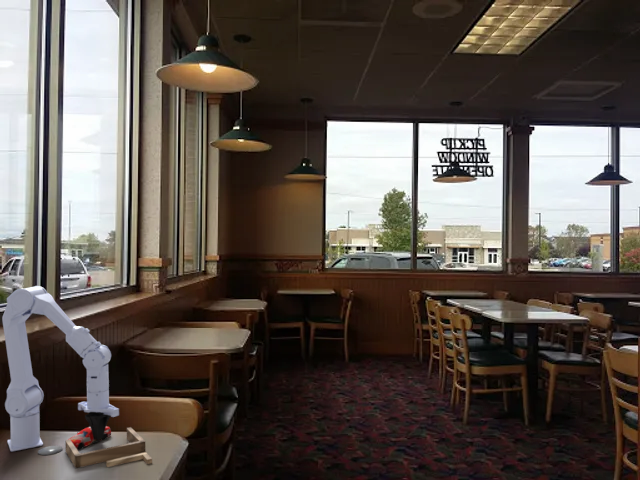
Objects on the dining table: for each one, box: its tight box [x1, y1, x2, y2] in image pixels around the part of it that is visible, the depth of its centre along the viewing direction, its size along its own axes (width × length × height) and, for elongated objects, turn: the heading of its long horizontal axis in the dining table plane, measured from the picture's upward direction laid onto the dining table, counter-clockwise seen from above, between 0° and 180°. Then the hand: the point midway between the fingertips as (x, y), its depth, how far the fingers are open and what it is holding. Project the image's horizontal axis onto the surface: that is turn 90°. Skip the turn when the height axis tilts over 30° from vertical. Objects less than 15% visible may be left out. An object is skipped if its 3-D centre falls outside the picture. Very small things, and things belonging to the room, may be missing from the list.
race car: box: [67, 425, 112, 450], centre depth 158 cm, size 13×5×4 cm, turn 148°
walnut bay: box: [64, 426, 146, 469], centre depth 150 cm, size 14×17×3 cm
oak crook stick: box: [105, 451, 153, 468], centre depth 142 cm, size 10×5×1 cm, turn 124°
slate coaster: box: [37, 445, 64, 456], centre depth 151 cm, size 6×6×1 cm
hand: (98, 438), depth 156 cm, fingers closed
